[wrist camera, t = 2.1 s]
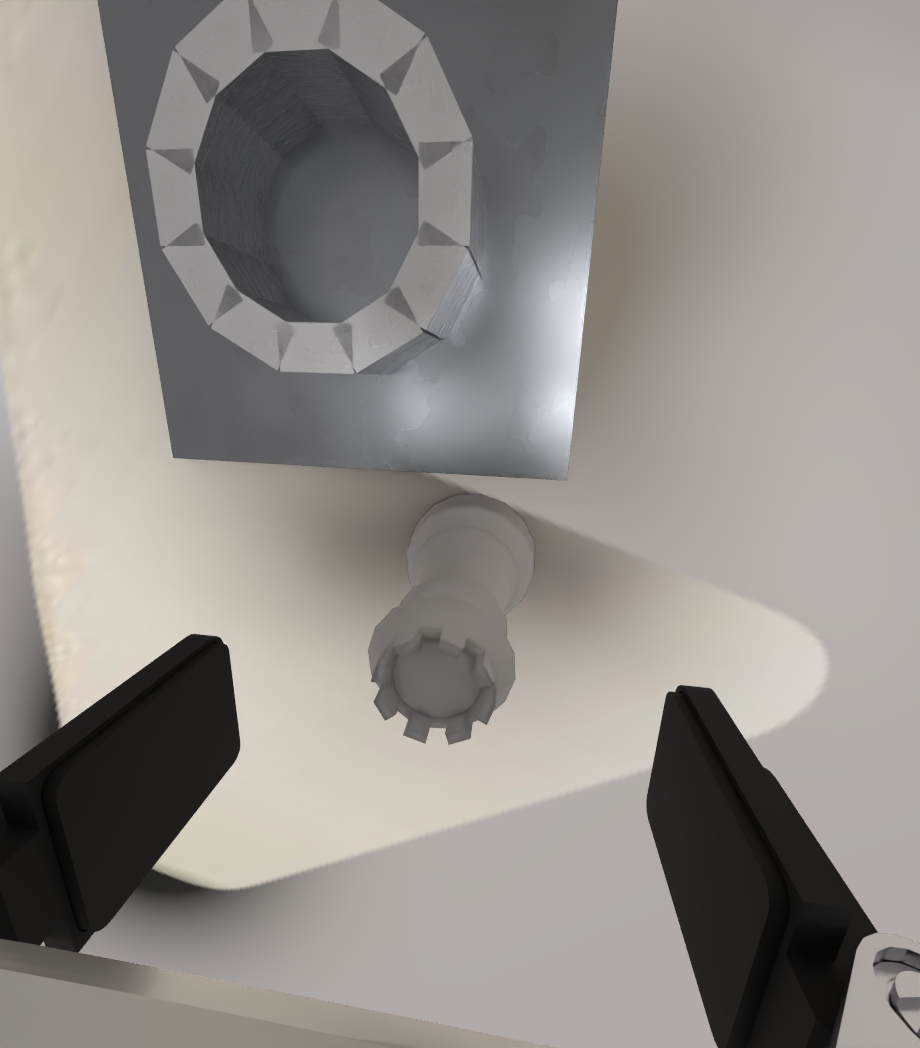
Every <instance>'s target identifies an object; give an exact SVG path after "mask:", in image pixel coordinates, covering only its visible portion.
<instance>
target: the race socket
mask: <svg viewBox="0 0 920 1048" xmlns="http://www.w3.org/2000/svg"><path fill="white" fill-rule="evenodd" d="M617 2H618V0H98V6H99V12H100V18H101V24H102V30H103V36H104V42H105V48H106V54H107V60H108V66H109V72H110V78H111V84H112V90H113V96H114V102H115V108H116V114H117V120H118V127H119V133H120V139H121V145H122V151H123V157H124V163H125V169H126V175H127V181H128V187H129V193H130V199H131V205H132V211H133V217H134V223H135V229H136V235H137V241H138V247H139V254H140V260H141V266H142V272H143V278H144V284H145V290H146V296H147V302H148V308H149V314H150V320H151V326H152V332H153V338H154V344H155V350H156V356H157V362H158V368H159V374H160V381H161V387H162V393H163V399H164V405H165V411H166V417H167V423H168V429H169V435H170V441H171V447H172V453H173V458H184V459H201V460H219V461H236V462H253V463H271V464H288V465H306V466H323V467H341V468H358V469H376V470H393V471H410V472H428V473H445V474H464V475H481V476H498V477H515V478H533V479H550V480H567V475H568V465H569V457H570V447H571V437H572V428H573V418H574V409H575V399H576V390H577V381H578V372H579V362H580V353H581V343H582V333H583V324H584V314H585V305H586V296H587V286H588V276H589V268H590V257H591V248H592V239H593V230H594V220H595V211H596V201H597V192H598V183H599V173H600V164H601V154H602V144H603V135H604V125H605V116H606V107H607V97H608V88H609V79H610V78H609V77H610V69H611V59H612V50H613V41H614V31H615V22H616V12H617Z"/></svg>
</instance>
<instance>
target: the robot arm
mask: <svg viewBox="0 0 920 1048" xmlns="http://www.w3.org/2000/svg"><path fill="white" fill-rule="evenodd" d="M239 751H240V736H239V728H238V720H237V712H236V704H235V695H234V687H233V679H232V671H231V663H230V655H229V649H228V647H227V645H225V644H223V641H222V640H221V638H219V637H217V636H208V635H199V634H191V635H189V636H187V637H186V638H184V639H183V640H182V641H180V642H179V643H177V644H176V645H175V646H173V647H172V648H170V649H169V650H168V651H166V652H165V653H164V654H162V655H161V656H159V657H158V658H157V659H155V660H154V661H153V662H151V663H150V664H148V665H147V666H146V667H144V668H143V669H142V670H140V671H139V672H137V673H136V674H135V675H133V676H132V677H130V678H129V679H128V680H126V681H125V682H124V683H122V684H121V685H119V686H118V687H117V688H115V689H114V690H113V691H111V692H110V693H108V694H107V695H106V696H104V697H103V698H102V699H100V700H99V701H97V702H96V703H95V704H93V705H92V706H91V707H89V708H88V709H86V710H85V711H84V712H82V713H81V714H79V715H78V716H77V717H75V718H74V719H73V720H71V721H70V722H68V723H67V724H66V725H64V726H63V727H62V728H60V729H59V730H58V731H56V732H55V733H53V734H52V735H51V736H49V737H48V738H46V739H45V740H44V741H42V742H41V743H40V744H38V745H37V746H35V747H34V748H33V749H31V750H30V751H29V752H27V753H26V754H24V755H23V756H22V757H20V758H19V759H17V760H16V761H15V762H13V763H12V764H11V765H9V766H8V767H6V768H5V769H4V770H2V771H1V772H0V1048H555V1047H550V1046H545V1045H539V1044H535V1043H530V1042H526V1041H520V1040H515V1039H511V1038H506V1037H501V1036H496V1035H491V1034H487V1033H482V1032H476V1031H472V1030H467V1029H462V1028H457V1027H452V1026H447V1025H443V1024H438V1023H433V1022H428V1021H423V1020H418V1019H413V1018H408V1017H403V1016H399V1015H394V1014H388V1013H383V1012H379V1011H374V1010H368V1009H364V1008H359V1007H353V1006H348V1005H343V1004H339V1003H334V1002H329V1001H323V1000H318V999H313V998H308V997H303V996H298V995H293V994H288V993H283V992H278V991H273V990H268V989H263V988H258V987H252V986H248V985H242V984H237V983H233V982H227V981H222V980H217V979H212V978H207V977H202V976H197V975H192V974H187V973H181V972H176V971H171V970H165V969H160V968H155V967H150V966H145V965H140V964H134V963H129V962H123V961H119V960H113V959H108V958H103V957H97V956H92V955H87V954H81V953H78V952H79V951H80V950H81V949H82V947H83V946H84V945H85V944H86V942H87V941H88V940H89V939H90V937H91V936H92V935H93V933H94V932H96V931H99V930H101V929H103V928H104V927H105V926H106V925H107V924H108V923H109V922H110V921H111V920H112V919H113V917H114V916H115V915H116V913H117V912H118V911H119V909H120V908H121V907H122V906H123V905H124V903H125V902H126V901H127V899H128V898H129V897H130V896H131V894H132V893H133V891H134V890H135V889H136V888H137V887H138V885H139V884H140V883H141V881H142V880H143V879H144V878H145V876H146V875H147V874H148V872H149V871H150V870H151V869H152V867H153V866H154V865H155V863H156V862H157V861H158V860H159V858H160V857H161V856H162V854H163V853H164V852H165V851H166V849H167V848H168V847H169V845H170V844H171V843H172V842H173V840H174V839H175V838H176V837H177V835H178V834H179V833H180V831H181V830H182V829H183V828H184V826H185V825H186V824H187V822H188V821H189V820H190V819H191V817H192V816H193V815H194V813H195V812H196V811H197V810H198V808H199V807H200V806H201V804H202V803H203V802H204V801H205V799H206V798H207V797H208V795H209V794H210V793H211V792H212V790H213V789H214V788H215V786H216V785H217V784H218V783H219V781H220V780H221V779H222V777H223V776H224V775H225V774H226V772H227V771H228V770H229V769H230V767H231V766H232V765H233V763H234V762H235V760H236V759H237V756H238V754H239ZM647 815H648V820H649V823H650V827H651V830H652V833H653V837H654V840H655V843H656V847H657V850H658V854H659V857H660V860H661V864H662V867H663V870H664V874H665V877H666V880H667V884H668V887H669V890H670V893H671V897H672V901H673V904H674V907H675V911H676V914H677V917H678V921H679V924H680V927H681V931H682V934H683V937H684V941H685V944H686V947H687V951H688V954H689V958H690V961H691V964H692V968H693V971H694V974H695V978H696V981H697V984H698V987H699V991H700V994H701V998H702V1001H703V1005H704V1008H705V1011H706V1014H707V1018H708V1021H709V1024H710V1028H711V1031H712V1034H713V1037H714V1040H715V1042H716V1044H717V1047H718V1048H920V943H919V942H917V941H914V940H911V939H908V938H905V937H902V936H899V935H896V934H887V933H886V934H885V933H878V932H877V930H876V929H875V927H874V926H873V924H872V923H871V921H870V920H869V919H868V917H867V915H866V914H865V912H864V911H863V909H862V908H861V906H860V905H859V903H858V902H857V900H856V899H855V897H854V896H853V894H852V893H851V891H850V890H849V888H848V887H847V885H846V884H845V882H844V881H843V879H842V878H841V876H840V874H839V873H838V871H837V870H836V869H835V867H834V865H833V864H832V863H831V861H830V859H829V858H828V857H827V855H826V853H825V852H824V850H823V849H822V847H821V846H820V844H819V843H818V842H817V840H816V838H815V837H814V835H813V834H812V832H811V831H810V829H809V828H808V826H807V825H806V823H805V822H804V820H803V819H802V817H801V816H800V814H799V813H798V811H797V810H796V808H795V807H794V805H793V804H792V802H791V800H790V799H789V798H788V796H787V794H786V793H785V791H784V790H783V789H782V787H781V785H780V784H779V782H778V781H777V779H776V778H775V777H774V776H773V774H772V773H771V772H770V771H769V770H767V769H766V768H764V767H763V766H762V765H761V763H760V762H759V760H758V759H757V757H756V756H755V754H754V753H753V751H752V749H751V748H750V747H749V745H748V743H747V742H746V740H745V739H744V737H743V736H742V734H741V732H740V731H739V729H738V728H737V726H736V725H735V723H734V722H733V720H732V719H731V717H730V715H729V714H728V712H727V711H726V709H725V708H724V706H723V705H722V703H721V702H720V700H719V698H718V697H717V695H716V694H715V692H714V691H713V690H712V689H710V688H703V687H693V686H684V685H680V686H678V687H677V689H676V692H668V693H667V695H666V699H665V704H664V710H663V715H662V720H661V725H660V731H659V736H658V741H657V747H656V752H655V757H654V762H653V768H652V773H651V778H650V784H649V789H648V794H647ZM43 941H44V943H45V946H46V947H45V946H40V945H41V943H42V942H43Z"/></svg>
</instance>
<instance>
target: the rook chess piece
mask: <svg viewBox="0 0 920 1048" xmlns="http://www.w3.org/2000/svg"><path fill="white" fill-rule="evenodd" d="M407 564H408V574H409V581H410V583H411V585H412V586H413V589H412V590H411V591H410V592H409V593H408V594H407V595H406V596H405V598H404V599H403V600H402V601H401V604H400V606H398V607H396V608H393V609H392V610H391V611H390V613H389V614H388V615H387V616H386V617H385V618H384V619H383V620H382V621H381V622H380V623H379V624H378V625H377V626H376V627H375V630H374V633H373V636H372V640H371V643H370V646H369V649H368V654H369V661H370V668H371V675H372V679H371V682H376V684H377V685H378V687H379V691H378V694H377V696H376V698H375V700H374V703H375V705H376V706H377V708H378V710H379V711H380V713H381V715H382V716H383V718H384V720H387V719H389V718H391V717H392V716H394V715H396V712H397V711H399V712H400V713H401V714H402V715H403V716H405V717H406V718H407V719H408V722H407V725H406V728H405V731H404V734H403V735H404V736H407V737H409V738H412V739H415V740H417V741H420V742H422V743H426V740H427V736H428V732H429V728H446V732H445V734H446V738H447V741H448V744H449V745H450V744H453V743H457V742H460V741H463V740H467V739H470V737H471V730H472V723H473V722H475V721H478V720H479V721H480V722H482V723H484V724H486V725H487V723H488V721H489V719H490V717H491V715H492V712H493V711H494V710H495V709H497V708H498V707H499V706H500V705H501V704H503V703H504V702H505V700H506V698H507V696H508V694H509V691H510V689H511V687H512V685H513V683H514V681H515V656H514V652H513V650H512V648H511V646H510V644H509V642H508V640H507V626H506V618H505V615H506V614H507V613H508V612H509V611H510V610H511V609H512V608H513V607H515V606H516V605H517V604H518V603H519V602H520V601H521V600H522V599H523V597H524V595H525V593H526V591H527V588H528V586H529V584H530V582H531V579H532V577H533V568H534V566H535V561H534V541H533V539H532V536H531V534H530V532H529V530H528V528H527V526H526V523H525V521H524V520H523V519H522V518H521V517H520V516H519V515H518V514H517V513H515V512H514V511H513V510H512V509H511V508H510V507H509V506H508V505H507V504H506V503H503V502H500V501H498V500H495V499H492V498H490V497H487V496H484V495H481V494H478V495H455V496H453V497H451V498H448V499H446V500H444V501H442V502H439V503H437V504H435V505H433V506H432V507H431V508H430V509H429V511H428V512H427V513H426V514H425V515H424V516H423V517H422V518H421V519H420V520H419V522H418V523H417V526H416V529H415V531H414V532H413V535H412V538H411V541H410V544H409V547H408V550H407Z"/></svg>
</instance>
